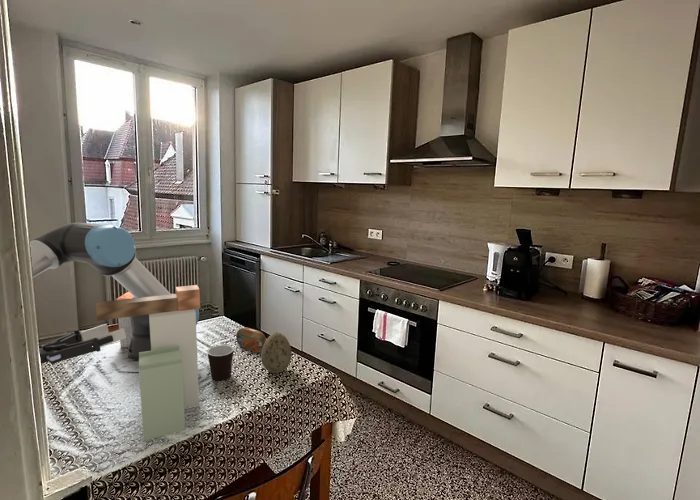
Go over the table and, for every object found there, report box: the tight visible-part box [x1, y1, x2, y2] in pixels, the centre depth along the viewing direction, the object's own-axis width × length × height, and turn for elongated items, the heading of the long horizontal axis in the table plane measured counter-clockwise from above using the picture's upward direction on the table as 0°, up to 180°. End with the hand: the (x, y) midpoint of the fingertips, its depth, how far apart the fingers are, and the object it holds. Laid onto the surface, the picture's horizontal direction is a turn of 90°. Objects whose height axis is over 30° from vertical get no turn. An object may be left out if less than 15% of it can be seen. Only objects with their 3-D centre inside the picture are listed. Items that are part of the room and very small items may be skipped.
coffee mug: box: [206, 344, 235, 383], centre depth 134 cm, size 12×9×10 cm
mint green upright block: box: [138, 346, 186, 442], centre depth 104 cm, size 10×9×21 cm
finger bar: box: [95, 284, 201, 322], centre depth 109 cm, size 26×5×6 cm, turn 120°
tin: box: [235, 327, 267, 354], centre depth 155 cm, size 15×3×8 cm, turn 58°
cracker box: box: [115, 290, 135, 349], centre depth 157 cm, size 14×6×21 cm, turn 5°
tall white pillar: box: [149, 309, 200, 410], centre depth 115 cm, size 12×10×30 cm
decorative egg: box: [260, 332, 293, 374], centre depth 137 cm, size 11×11×15 cm
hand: (115, 330), depth 106 cm, fingers open, 11 cm apart
